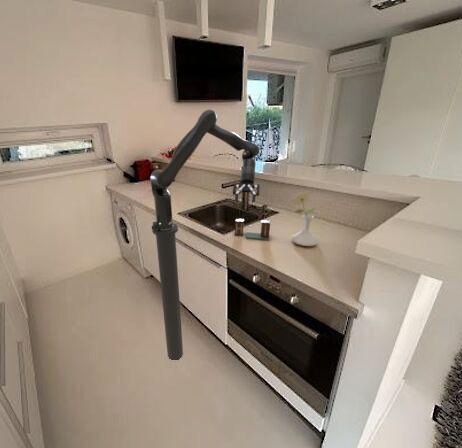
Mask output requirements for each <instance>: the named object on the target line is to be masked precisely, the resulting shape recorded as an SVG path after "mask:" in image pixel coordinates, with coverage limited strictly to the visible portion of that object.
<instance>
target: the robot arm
mask: <svg viewBox="0 0 462 448" xmlns="http://www.w3.org/2000/svg"><path fill="white" fill-rule="evenodd" d="M217 121H218V115H217V113H216V111H214V110H212V109H206V110H204V111H203V112H201V114H200V115H199V117H198V119H197V121H196V123H195V125H193V127H192V128H191V129H190V130H189V131H188V132H187V133H186V134H185V135H184V136H183V137H182V139H181V140H180V141H179V142H178V143H177V145H176V146H175V148H174V150H173V152H172V156H171V159H170V161H169V163H168V164H167V165H166V167H165V168H164V169H155V170H153V171H152V172H151V174H150V187H151V193H152V196H153V201H154V208H155V209H154V216H155V221H152V225H151V230H152V229H154V230H155V229H158V231H167V230H171V229H172V228H173V224H174V223H173V208H172V207H173V206H172V194H171V192H170V191H169V189H168V188H169V187H170V186H171V185H172V184H173V182H174V181H175V178H177V175H178V174H179V172H180V171H181V170H182V168H183V167H184V165H185V164H186V163H187V161H188V160H189V159H190V158H191V156H192V155H193V154H194V153H195V152H196V150H197V149H198V147H199V145H200V144H201V142H202V140H203V139H204V137H205V136H206V135H207V134H209V135H211V136H213V137H215V138H216V139H218V140H220V141H222V142H224V143H225V144H227V145H228V146H230V147H231V148H233V149H234V150H236V152H237V151H238V152H240V151H242V150H243V151H242V153H241V160H242V168H241V169H242V170H241V173H240V174H241V175H240V181H239V184H237V183H234V184H233V189H232V195H233V196H235V197H234V200H235V202H236V203H237V202H238V201H239V196H240V195H241V194H242V193H244V194H245V193H248V194H249V193H250V194H251V195H252V198H251V199H252V201H251V202H252V203H255V202H256V197H259V196H260V187H261V186H260V185H261V184H259V183H258V184H255V179H256V178H255V177H256V160H255V159H254V158H255V157H257V156H258V155H259V154H260V152H261V151H260V147H259V146H258V144H256V143H254V142H251V141H249V140H246V139H244V138H243V137H241V136H240V135H238V134H237V133H236V132H233V131H230V130H228V129H224V128H222V127H221V126H219V125H217ZM238 188H239V189H238ZM254 189H255V190H256V191H255V190H254Z"/></svg>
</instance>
